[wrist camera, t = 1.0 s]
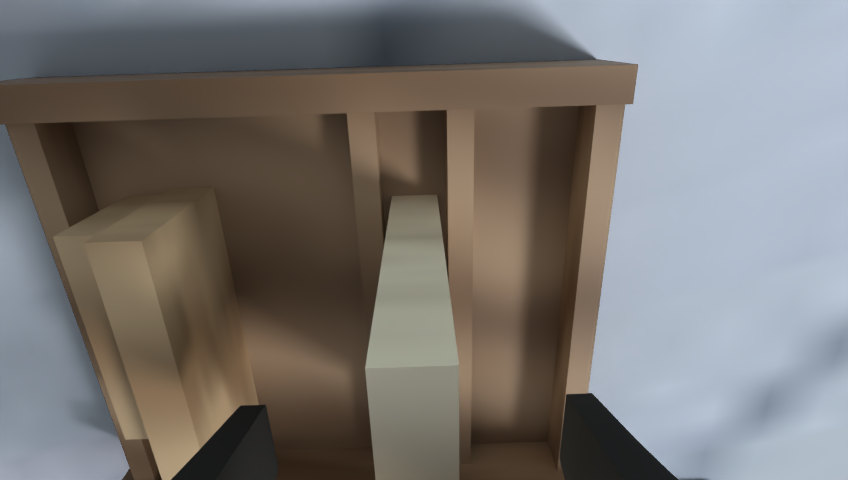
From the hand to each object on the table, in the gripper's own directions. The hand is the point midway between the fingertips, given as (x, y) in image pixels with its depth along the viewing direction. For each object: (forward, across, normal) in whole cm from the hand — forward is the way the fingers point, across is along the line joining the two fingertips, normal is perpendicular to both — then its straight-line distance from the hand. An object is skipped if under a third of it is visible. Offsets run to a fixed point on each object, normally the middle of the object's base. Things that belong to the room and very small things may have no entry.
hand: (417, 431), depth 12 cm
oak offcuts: (+6, +8, 0) cm, 10 cm away
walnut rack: (+7, +3, 0) cm, 8 cm away
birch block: (+6, 0, 0) cm, 6 cm away
